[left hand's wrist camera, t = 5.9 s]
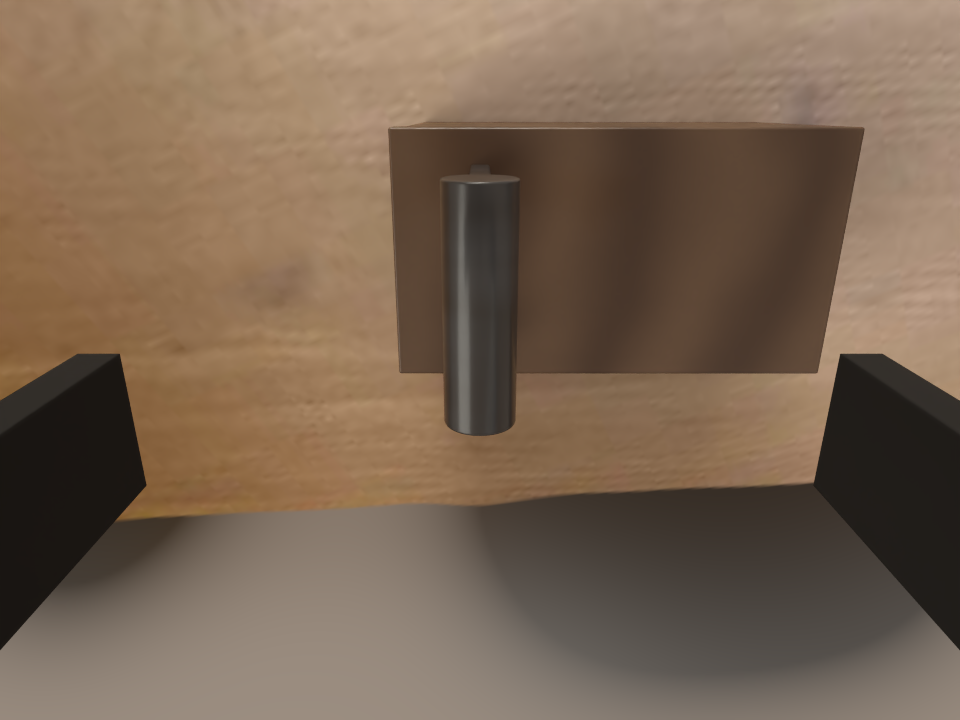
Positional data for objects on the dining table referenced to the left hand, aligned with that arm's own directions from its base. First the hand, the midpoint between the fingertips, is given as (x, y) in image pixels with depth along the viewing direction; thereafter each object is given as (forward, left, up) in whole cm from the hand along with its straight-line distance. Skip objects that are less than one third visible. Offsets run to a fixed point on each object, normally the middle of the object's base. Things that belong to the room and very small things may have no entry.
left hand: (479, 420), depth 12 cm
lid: (+5, +1, -15) cm, 16 cm away
